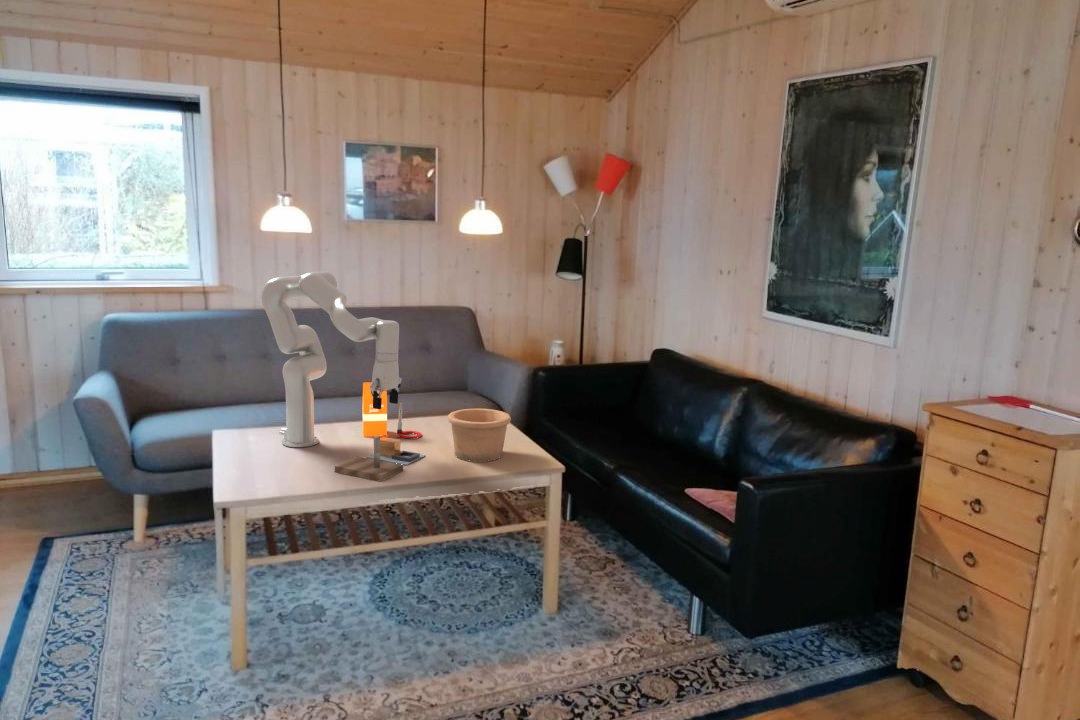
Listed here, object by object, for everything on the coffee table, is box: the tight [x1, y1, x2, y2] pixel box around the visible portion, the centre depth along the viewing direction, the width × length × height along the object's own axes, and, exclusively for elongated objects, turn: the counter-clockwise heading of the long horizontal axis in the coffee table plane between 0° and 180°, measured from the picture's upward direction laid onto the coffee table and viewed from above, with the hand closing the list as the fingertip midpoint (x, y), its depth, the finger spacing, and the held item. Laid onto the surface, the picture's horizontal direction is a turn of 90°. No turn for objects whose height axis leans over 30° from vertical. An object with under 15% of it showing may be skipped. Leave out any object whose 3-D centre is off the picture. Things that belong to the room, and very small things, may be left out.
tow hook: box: [396, 402, 423, 439], centre depth 285 cm, size 8×13×9 cm
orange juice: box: [362, 381, 388, 437], centre depth 286 cm, size 8×9×20 cm
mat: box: [366, 450, 426, 466], centre depth 259 cm, size 16×12×1 cm
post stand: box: [334, 436, 404, 482], centre depth 242 cm, size 18×12×12 cm, turn 67°
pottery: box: [447, 407, 512, 462], centre depth 265 cm, size 22×22×14 cm
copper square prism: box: [380, 436, 421, 462], centre depth 259 cm, size 14×7×6 cm, turn 67°
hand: (385, 405), depth 258 cm, fingers open, 9 cm apart
